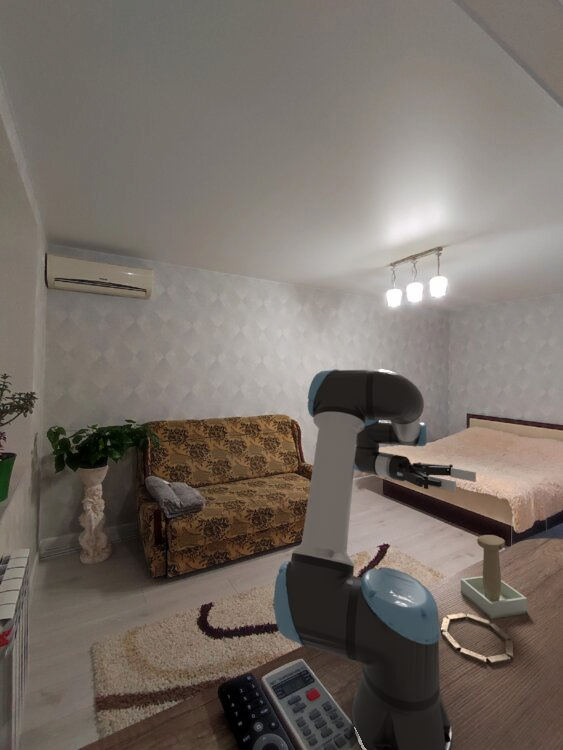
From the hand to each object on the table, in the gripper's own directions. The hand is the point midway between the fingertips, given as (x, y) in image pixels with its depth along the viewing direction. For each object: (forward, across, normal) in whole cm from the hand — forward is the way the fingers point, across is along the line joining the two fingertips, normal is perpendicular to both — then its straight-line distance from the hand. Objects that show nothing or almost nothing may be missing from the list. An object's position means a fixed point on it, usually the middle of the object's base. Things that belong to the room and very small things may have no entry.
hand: (466, 481), depth 90 cm
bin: (+6, 0, -29) cm, 29 cm away
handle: (+6, 0, -28) cm, 29 cm away
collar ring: (+8, +16, -29) cm, 34 cm away
